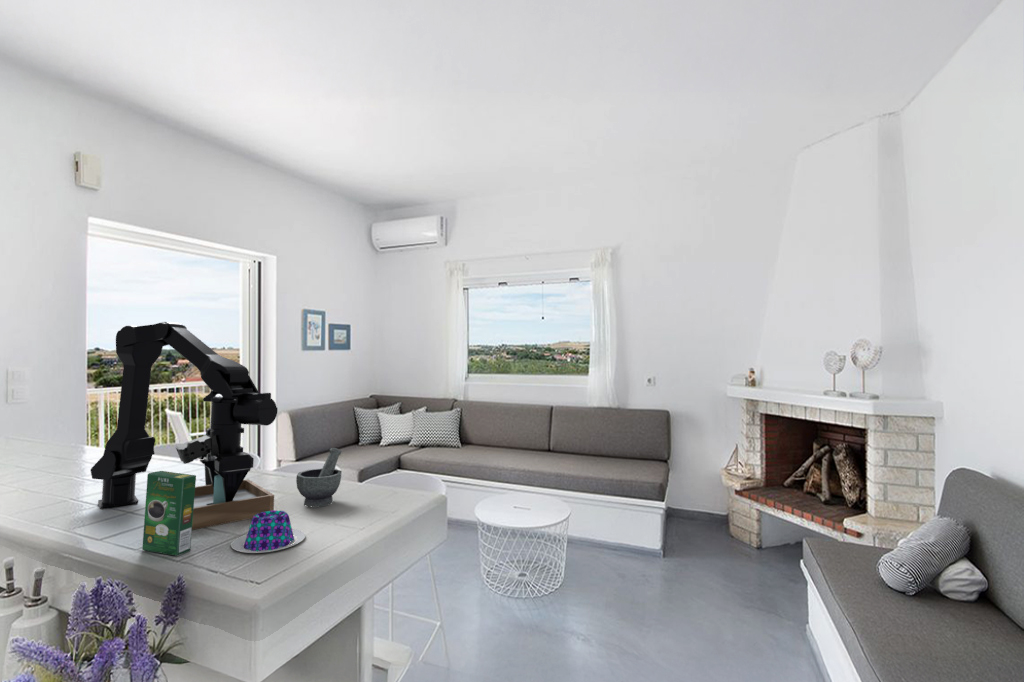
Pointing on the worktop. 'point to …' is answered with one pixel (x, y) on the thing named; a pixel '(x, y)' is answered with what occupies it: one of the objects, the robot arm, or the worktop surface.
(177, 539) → the coffee box
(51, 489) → the worktop surface
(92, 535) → the worktop surface
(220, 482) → the peg
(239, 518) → the insert box
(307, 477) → the mortar and pestle
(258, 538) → the patterned hat
